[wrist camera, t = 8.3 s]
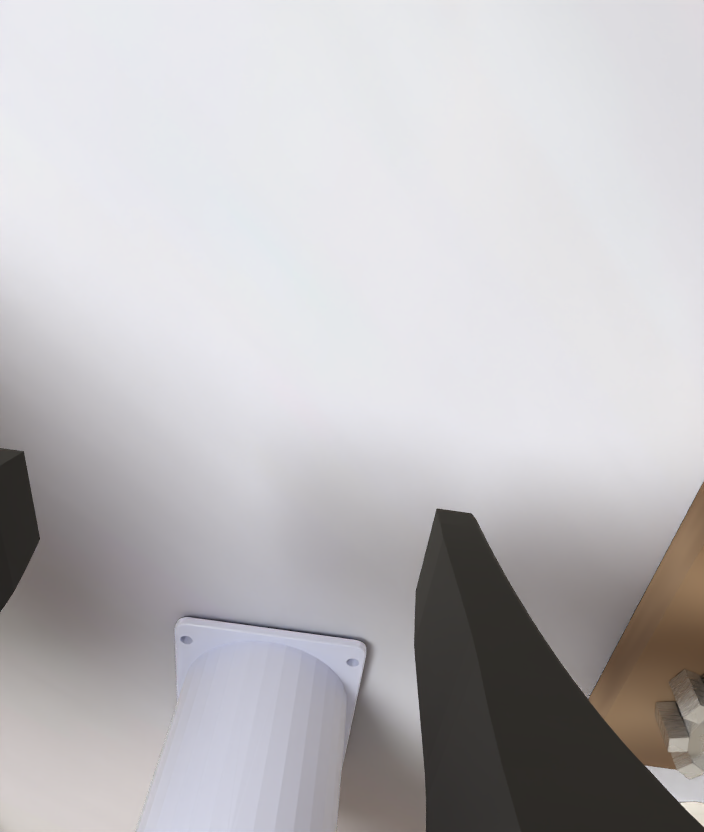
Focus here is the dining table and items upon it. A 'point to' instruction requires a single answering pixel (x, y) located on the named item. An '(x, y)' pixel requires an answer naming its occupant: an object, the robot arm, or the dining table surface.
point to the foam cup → (695, 810)
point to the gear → (684, 723)
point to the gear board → (658, 645)
